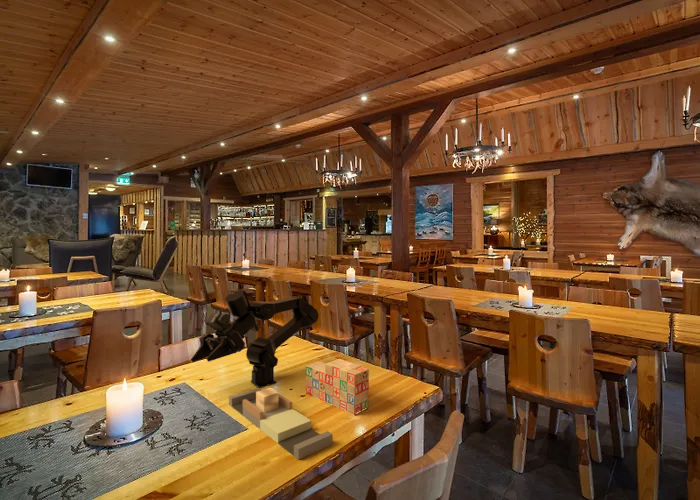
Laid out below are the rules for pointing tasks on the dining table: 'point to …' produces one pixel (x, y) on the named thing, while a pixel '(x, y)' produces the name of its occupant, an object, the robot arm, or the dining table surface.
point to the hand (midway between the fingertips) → (199, 360)
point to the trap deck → (282, 424)
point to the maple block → (267, 400)
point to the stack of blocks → (339, 384)
